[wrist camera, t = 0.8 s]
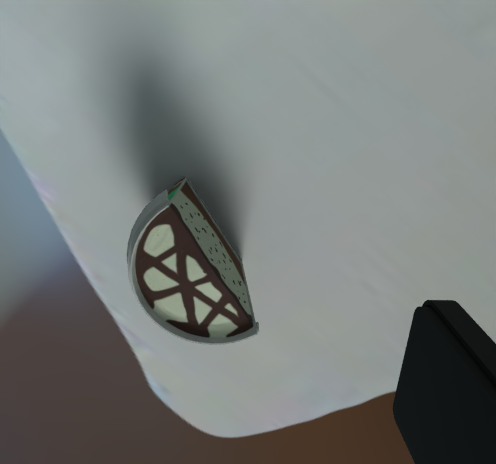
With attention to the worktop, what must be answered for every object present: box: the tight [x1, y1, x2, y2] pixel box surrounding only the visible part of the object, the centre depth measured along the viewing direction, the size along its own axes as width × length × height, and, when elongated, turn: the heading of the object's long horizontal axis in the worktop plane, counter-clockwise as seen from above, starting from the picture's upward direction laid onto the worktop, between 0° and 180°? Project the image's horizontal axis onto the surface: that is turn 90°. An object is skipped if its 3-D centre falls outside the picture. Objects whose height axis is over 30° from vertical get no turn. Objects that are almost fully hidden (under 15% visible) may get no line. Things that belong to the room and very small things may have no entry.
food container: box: [127, 177, 259, 345], centre depth 34 cm, size 12×6×10 cm, turn 30°
